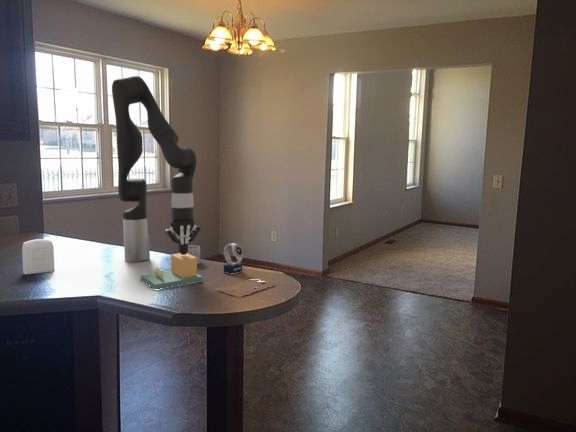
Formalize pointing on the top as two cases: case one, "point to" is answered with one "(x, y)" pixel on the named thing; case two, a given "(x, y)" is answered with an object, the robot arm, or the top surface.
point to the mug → (194, 252)
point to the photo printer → (38, 256)
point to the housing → (184, 265)
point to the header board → (167, 279)
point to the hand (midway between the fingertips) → (183, 254)
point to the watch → (238, 253)
